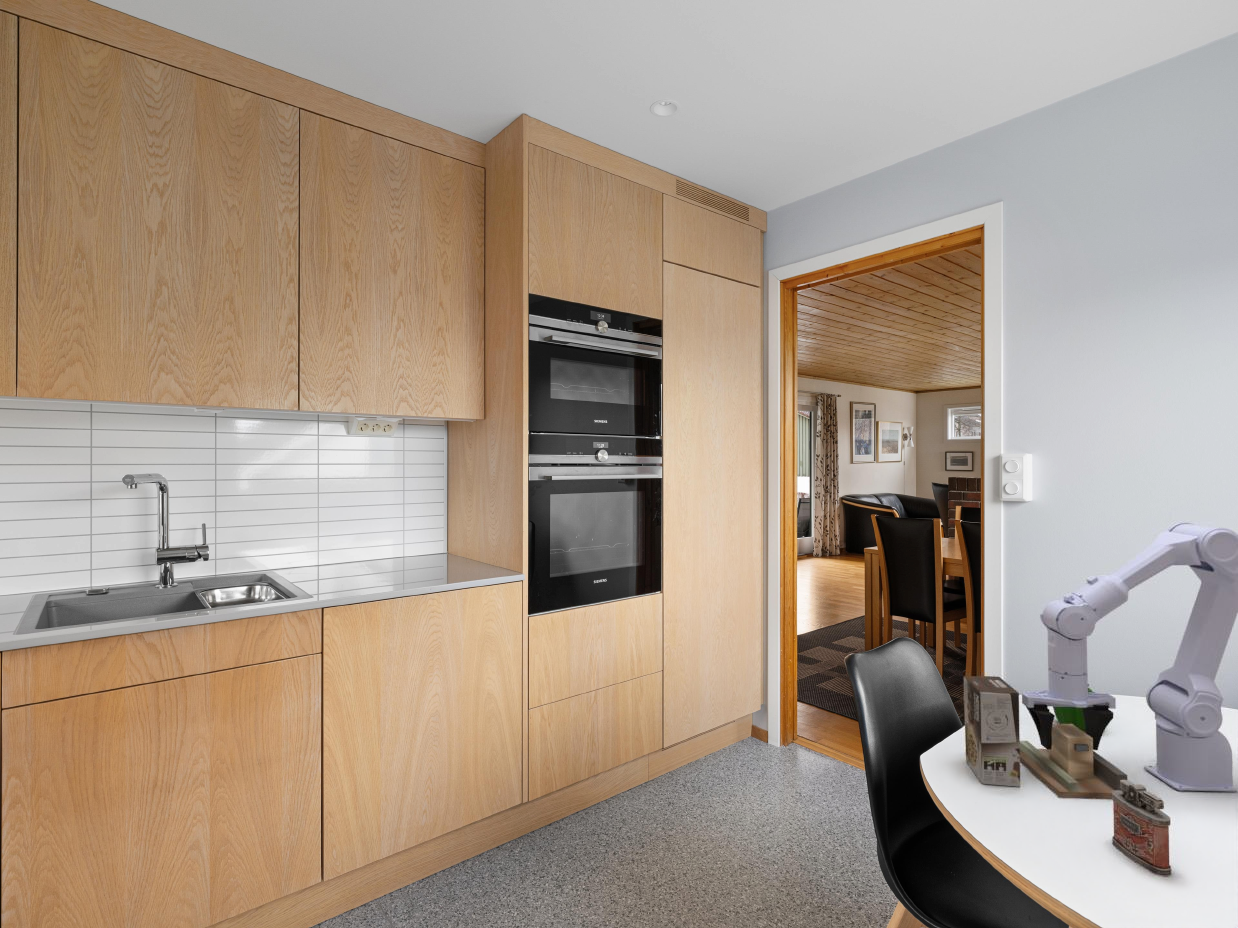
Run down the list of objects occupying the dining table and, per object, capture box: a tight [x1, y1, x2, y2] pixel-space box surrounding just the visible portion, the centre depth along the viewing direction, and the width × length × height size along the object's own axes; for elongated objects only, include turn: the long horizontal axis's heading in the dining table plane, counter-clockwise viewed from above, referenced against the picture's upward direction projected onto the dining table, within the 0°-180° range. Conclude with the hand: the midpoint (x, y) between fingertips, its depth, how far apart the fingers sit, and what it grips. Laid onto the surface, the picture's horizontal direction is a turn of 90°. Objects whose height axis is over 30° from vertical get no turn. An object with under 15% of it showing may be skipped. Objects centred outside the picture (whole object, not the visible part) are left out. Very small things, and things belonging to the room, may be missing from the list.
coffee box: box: [963, 675, 1021, 788], centre depth 116 cm, size 9×6×16 cm
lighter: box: [1111, 779, 1172, 877], centre depth 91 cm, size 8×3×10 cm, turn 5°
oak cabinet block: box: [1049, 723, 1094, 779], centre depth 114 cm, size 4×7×7 cm, turn 174°
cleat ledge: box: [1020, 740, 1128, 800], centre depth 115 cm, size 12×16×4 cm
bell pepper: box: [1052, 683, 1095, 732], centre depth 134 cm, size 8×8×10 cm
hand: (1069, 747), depth 115 cm, fingers open, 7 cm apart
